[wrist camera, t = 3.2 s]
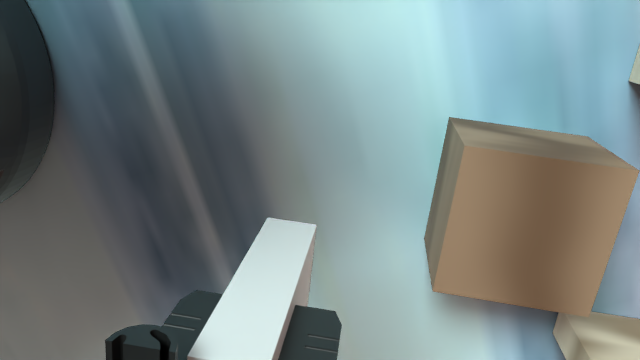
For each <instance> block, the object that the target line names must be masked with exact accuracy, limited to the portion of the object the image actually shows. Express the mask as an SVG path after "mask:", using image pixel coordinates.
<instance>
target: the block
mask: <svg viewBox="0 0 640 360" xmlns="http://www.w3.org/2000/svg"><path fill="white" fill-rule="evenodd" d="M638 173H639V170H637V169H636V168H634V167H633V166H631V165H630V164H628V163H627V162H625V161H624V160H622V159H621V158H619V157H618V156H616V155H615V154H613V153H612V152H610V151H609V150H607V149H606V148H604V147H603V146H601V145H600V144H598V143H597V142H595V141H594V140H592V139H591V138H589V137H587V136H580V135H573V134H566V133H558V132H551V131H544V130H537V129H530V128H523V127H516V126H508V125H501V124H494V123H487V122H480V121H473V120H466V119H459V118H451V117H449V121H448V125H447V130H446V135H445V140H444V145H443V150H442V155H441V159H440V164H439V169H438V174H437V179H436V184H435V189H434V194H433V198H432V203H431V208H430V213H429V218H428V223H427V228H426V232H425V237H424V240H425V246H426V253H427V259H428V265H429V272H430V278H431V284H432V291H434V292H440V293H446V294H452V295H458V296H464V297H470V298H476V299H482V300H488V301H494V302H500V303H506V304H512V305H518V306H524V307H530V308H536V309H542V310H548V311H554V312H560V313H565V314H571V315H577V316H583V317H589V315H590V312H591V309H592V307H593V304H594V301H595V298H596V295H597V292H598V289H599V286H600V283H601V281H602V278H603V275H604V272H605V269H606V266H607V263H608V260H609V257H610V254H611V252H612V249H613V246H614V243H615V240H616V237H617V234H618V231H619V228H620V225H621V223H622V220H623V217H624V214H625V211H626V208H627V205H628V202H629V199H630V196H631V194H632V191H633V188H634V185H635V182H636V179H637V176H638Z"/></svg>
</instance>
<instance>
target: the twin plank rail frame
mask: <svg viewBox="0 0 640 360" xmlns="http://www.w3.org/2000/svg"><path fill="white" fill-rule="evenodd" d="M629 81H630V82H634V83H637V84H640V45H639V49H638V52H637V55H636V59H635V62H634V65H633V69H632V72H631V75H630V78H629ZM553 335H554V336H555V338H556V340H557V342H558V344H559V346H560V348H561V350H562V352H563V354H564V356H565V358H566V360H640V319H636V318H630V317H623V316H617V315H610V314H604V313H597V312H590V315H589V317H583V316H577V315H571V314H565V313H560V312H559V313H558V316H557V320H556V323H555V326H554V329H553Z"/></svg>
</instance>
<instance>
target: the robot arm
mask: <svg viewBox="0 0 640 360" xmlns="http://www.w3.org/2000/svg"><path fill="white" fill-rule="evenodd" d="M53 115H54V88H53V79H52V73H51V67H50V63H49V59H48V54H47V51H46V48H45V45H44V41H43V39H42V36H41V33H40V31H39V28H38V26H37V24H36V22H35V19H34V17H33V15H32V13H31V11H30V10H29V8H28V6H27V4H26V2H25V1H24V0H0V202H2V201H4V200H6V199H7V198H9V197H10V196H11V195H13V194H14V193H15V192H17V191H18V190H19V189H20V188H21V187H22V186H23V185H24V184H25V183H26V182H27V181H28V179H29V178H30V177H31V176H32V174H33V173H34V171H35V170H36V168H37V167H38V165H39V163H40V161H41V159H42V157H43V155H44V153H45V150H46V147H47V145H48V141H49V138H50V134H51V129H52V123H53ZM316 227H317V225H316V224H309V223H302V222H295V221H289V220H282V219H275V218H269V217H268V218H267V220H266V221H265V223H264V225H263V226H262V228H261V230H260V232H259V233H258V235H257V237H256V238H255V240H254V242H253V244H252V245H251V247H250V249H249V251H248V252H247V254H246V256H245V257H244V259H243V261H242V263H241V264H240V266H239V268H238V270H237V271H236V273H235V275H234V276H233V278H232V280H231V282H230V283H229V285H228V287H227V288H226V290H225V292H224V294H217V293H211V292H205V291H198V290H196V291H194V292H193V293H191V294H189V295H188V296H186V297H184V298H183V299H181V300H180V301H179V303H178V304H177V305H176V307H175V308H174V310H173V311H172V312H171V315H169V317H168V318H167V319H166V321H165V322H164V325H163V326H161V327H160V326H157V325H137V326H131V327H127V328H125V329H122V330H120V331H117V332H115V333H114V334H113V335H111V336H110V337H109V338H108V339H106V340H105V343H106V360H337V354H338V347H339V340H340V333H341V326H342V325H341V323H340V321H339V318H338V316H337V314H336V312H335V311H330V310H324V309H318V308H312V307H307V305H308V298H309V289H310V280H311V271H312V263H313V254H314V245H315V236H316Z"/></svg>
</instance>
